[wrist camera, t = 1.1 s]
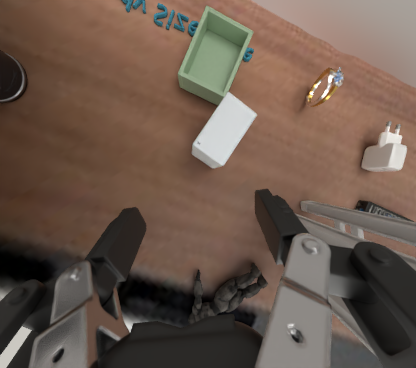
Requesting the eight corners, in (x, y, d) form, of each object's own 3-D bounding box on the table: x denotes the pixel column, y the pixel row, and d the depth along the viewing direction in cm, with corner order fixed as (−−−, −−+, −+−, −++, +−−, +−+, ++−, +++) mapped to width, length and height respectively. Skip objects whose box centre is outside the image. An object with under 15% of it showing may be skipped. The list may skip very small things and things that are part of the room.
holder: (179, 87, 33) (177, 73, 29) (204, 27, 33) (206, 4, 29) (221, 107, 34) (225, 97, 30) (246, 49, 34) (253, 31, 30)
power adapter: (368, 125, 38) (399, 115, 32) (384, 130, 38) (418, 121, 32) (357, 168, 38) (386, 166, 32) (373, 172, 39) (405, 172, 33)
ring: (307, 81, 36) (339, 53, 28) (318, 86, 36) (353, 61, 28) (296, 108, 36) (325, 89, 28) (307, 114, 36) (340, 96, 28)
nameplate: (91, -33, 30) (83, -9, 30) (88, -38, 30) (80, -14, 30) (254, 48, 34) (247, 68, 34) (256, 45, 33) (248, 66, 34)
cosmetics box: (214, 170, 35) (223, 167, 24) (191, 154, 34) (190, 144, 24) (239, 132, 35) (259, 113, 24) (216, 115, 34) (226, 89, 24)
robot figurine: (238, 238, 37) (167, 287, 35) (244, 247, 32) (164, 303, 31) (274, 295, 38) (208, 344, 37) (284, 310, 34) (211, 366, 32)
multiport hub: (396, 234, 40) (408, 238, 38) (352, 215, 39) (362, 218, 36) (402, 219, 40) (415, 222, 38) (359, 199, 39) (369, 201, 36)
